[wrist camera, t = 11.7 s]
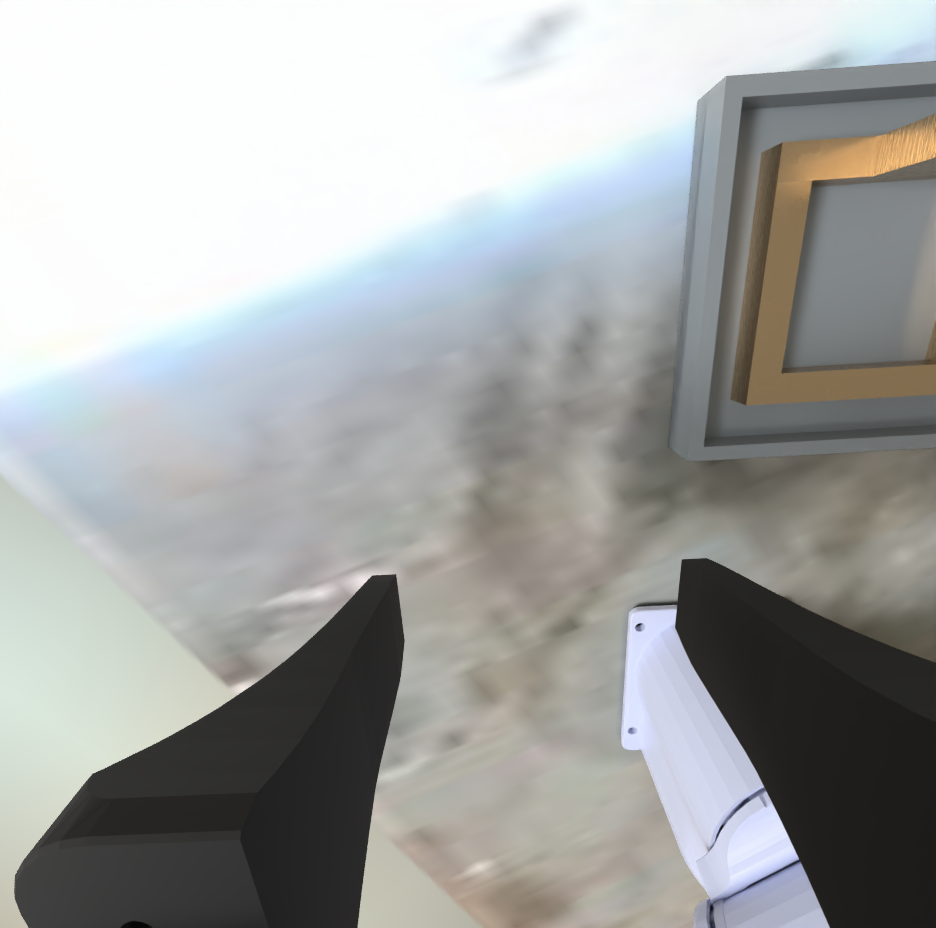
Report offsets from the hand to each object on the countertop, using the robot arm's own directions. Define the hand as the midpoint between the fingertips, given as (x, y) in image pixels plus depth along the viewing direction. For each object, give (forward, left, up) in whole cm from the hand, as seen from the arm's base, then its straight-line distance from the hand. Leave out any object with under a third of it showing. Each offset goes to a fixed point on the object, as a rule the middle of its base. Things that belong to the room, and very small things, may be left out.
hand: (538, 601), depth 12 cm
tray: (+7, -14, -10) cm, 19 cm away
